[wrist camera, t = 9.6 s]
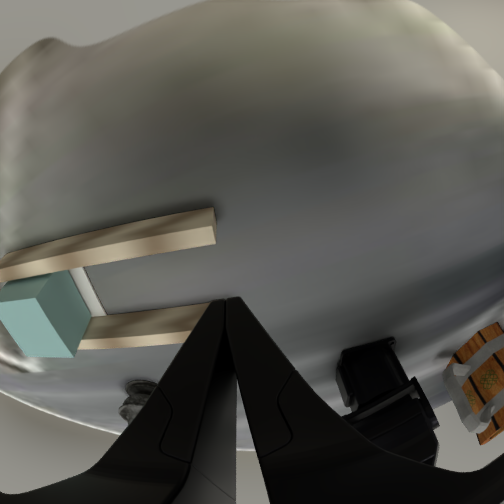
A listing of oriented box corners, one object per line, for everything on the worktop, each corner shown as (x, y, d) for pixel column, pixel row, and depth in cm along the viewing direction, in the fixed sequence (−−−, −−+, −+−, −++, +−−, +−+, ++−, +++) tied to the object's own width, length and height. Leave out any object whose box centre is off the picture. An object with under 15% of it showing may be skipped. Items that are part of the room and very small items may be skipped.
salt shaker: (181, 398, 31) (178, 490, 20) (147, 408, 32) (138, 491, 21) (147, 373, 28) (133, 475, 17) (113, 385, 29) (96, 474, 18)
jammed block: (63, 259, 20) (35, 298, 15) (91, 315, 23) (74, 357, 18) (17, 269, 20) (-10, 303, 15) (46, 319, 23) (26, 356, 18)
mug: (511, 322, 33) (554, 380, 20) (468, 376, 40) (500, 433, 27) (458, 318, 29) (518, 405, 16) (403, 386, 35) (440, 467, 22)
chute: (213, 207, 19) (212, 225, 17) (235, 309, 24) (237, 335, 21) (6, 253, 19) (-11, 271, 17) (48, 329, 24) (37, 349, 21)
